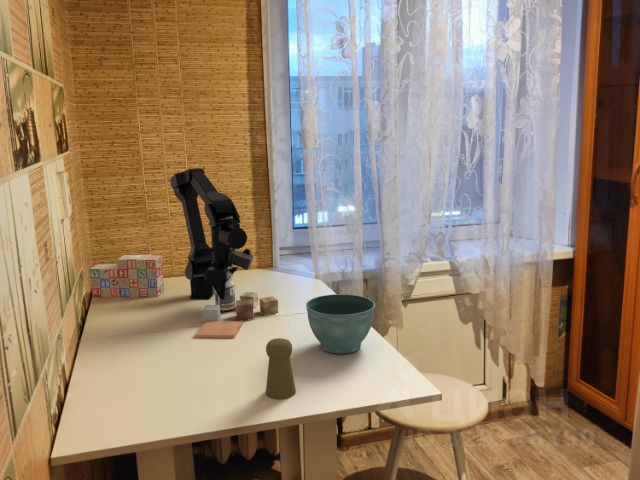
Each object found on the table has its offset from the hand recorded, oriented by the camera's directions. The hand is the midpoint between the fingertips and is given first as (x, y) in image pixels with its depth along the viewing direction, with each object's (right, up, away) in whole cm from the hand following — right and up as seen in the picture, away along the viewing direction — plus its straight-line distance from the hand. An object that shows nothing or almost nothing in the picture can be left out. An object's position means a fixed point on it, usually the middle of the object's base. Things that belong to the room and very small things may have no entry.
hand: (224, 296), depth 169 cm
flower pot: (+32, -10, -28) cm, 44 cm away
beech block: (+7, -4, +3) cm, 8 cm away
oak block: (+13, -5, -2) cm, 14 cm away
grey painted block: (-2, -6, -8) cm, 10 cm away
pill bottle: (0, -4, +1) cm, 4 cm away
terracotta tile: (+1, -8, -16) cm, 18 cm away
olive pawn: (+19, -15, -51) cm, 56 cm away
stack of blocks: (-34, -1, +19) cm, 38 cm away
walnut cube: (+7, -5, -6) cm, 10 cm away
